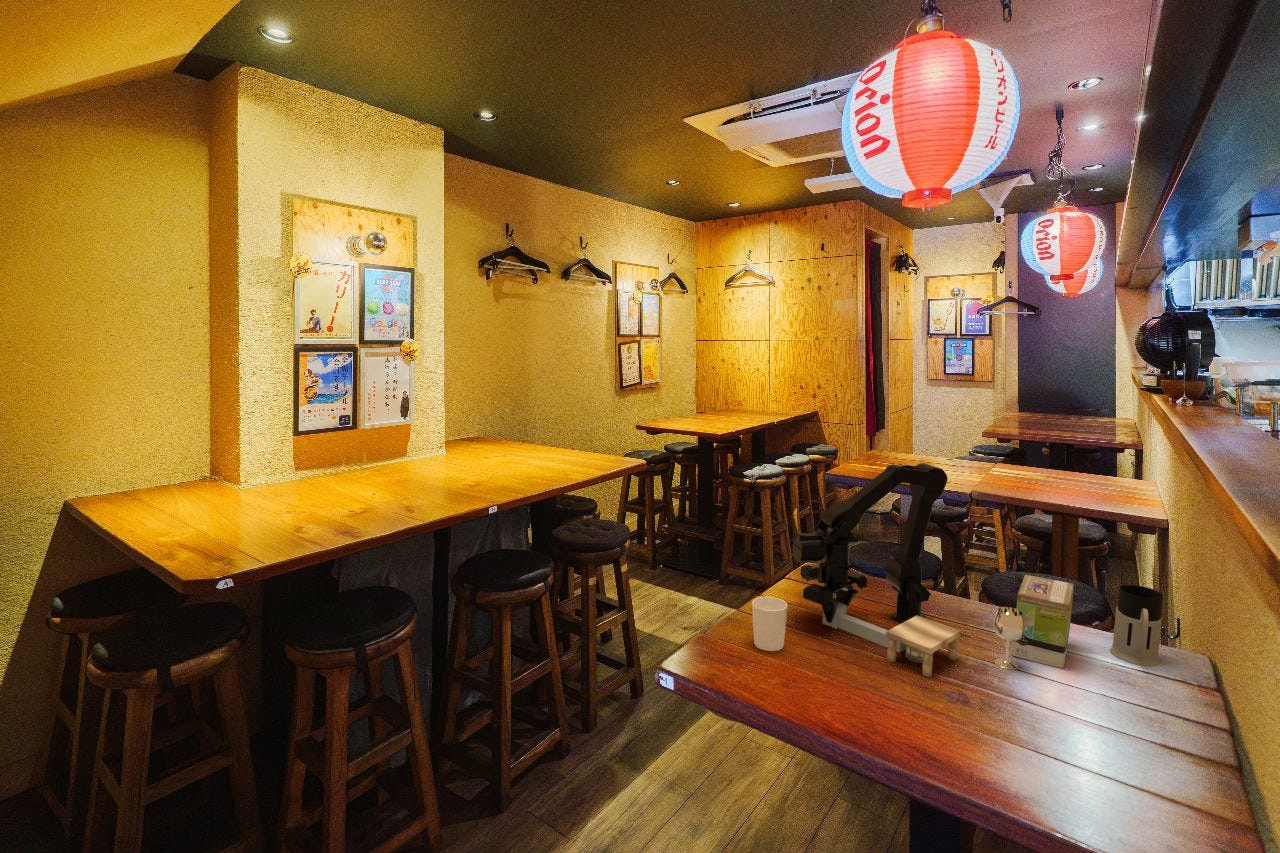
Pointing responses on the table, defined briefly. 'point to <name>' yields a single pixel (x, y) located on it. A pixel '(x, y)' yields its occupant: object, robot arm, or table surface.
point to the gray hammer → (860, 627)
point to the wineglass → (1008, 631)
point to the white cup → (769, 623)
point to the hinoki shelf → (923, 640)
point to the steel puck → (914, 654)
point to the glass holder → (1137, 625)
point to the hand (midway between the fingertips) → (834, 619)
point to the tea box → (1044, 620)
